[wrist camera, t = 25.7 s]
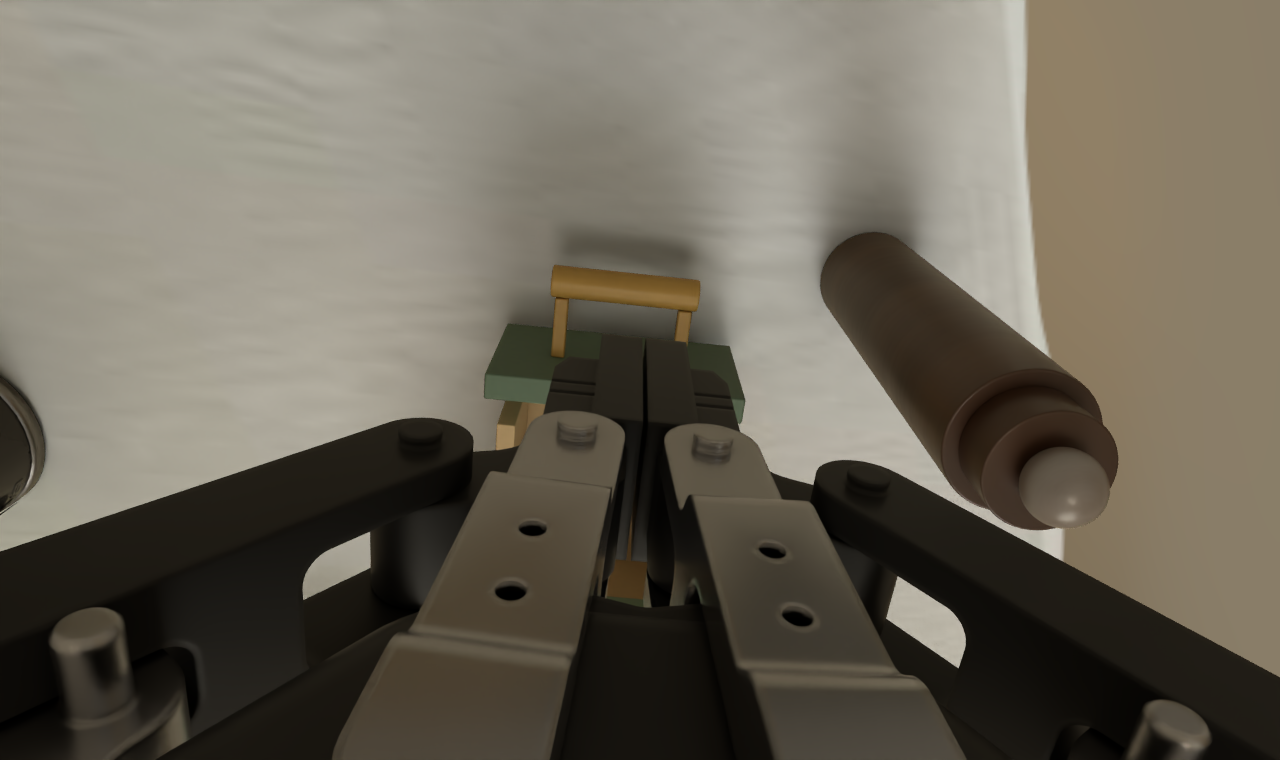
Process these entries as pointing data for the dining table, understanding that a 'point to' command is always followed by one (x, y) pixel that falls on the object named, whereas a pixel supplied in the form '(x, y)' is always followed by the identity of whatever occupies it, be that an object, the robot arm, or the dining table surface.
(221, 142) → the dining table surface
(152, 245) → the dining table surface
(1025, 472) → the pepper mill
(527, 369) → the drawer
